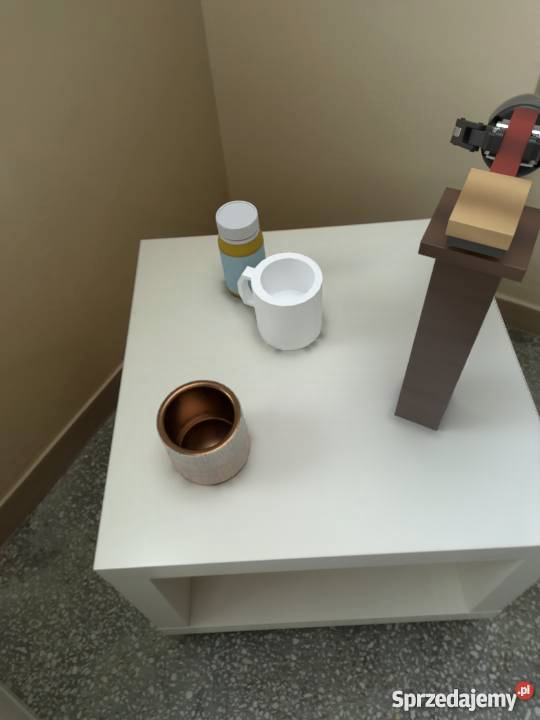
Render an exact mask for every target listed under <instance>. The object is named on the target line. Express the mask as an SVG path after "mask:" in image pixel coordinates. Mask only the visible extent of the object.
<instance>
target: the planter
mask: <svg viewBox="0 0 540 720" xmlns="http://www.w3.org/2000/svg"><path fill="white" fill-rule="evenodd" d="M155 428H156V431H157V435H158V437H159V439H160V441H161V443H162V445H163V446H164V448H165V450H166V452H167V454H168V456H169V458H170V460H171V462H172V464H173V466H174V468H175V469H176V470H177V472H178V473H179V474H180V475H181V476H182V477H183V478H185V479H186V480H188V481H190V482H192V483H195V484H199V485H205V486H206V485H207V486H208V485H209V486H210V485H216V484H220V483H223V482H225V481H228V480H229V479H231V478H233V477H234V476H235V475H236V474H238V473H239V472H240V471H241V470H242V468H243V467H244V465H245V464H246V462H247V460H248V458H249V454H250V448H251V437H250V434H249V430H248V426H247V423H246V420H245V416H244V412H243V408H242V404H241V401H240V400H239V397H238V396H237V394H236V393H235V392H234V391H233V390H232V389H231V388H230V387H229V386H227V385H226V384H224V383H221V382H219V381H217V380H212V379H197V380H191V381H188V382H185V383H182V384H181V385H178V386H177V387H176V388H174V389H173V390H172V391H170V392H169V393H168V394H167V395H166V396H165V398H164V399H163V400H162V402H161V404H160V405H159V408H158V411H157V413H156V418H155Z"/></svg>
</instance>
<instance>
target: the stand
mask: <svg viewBox="0 0 540 720" xmlns="http://www.w3.org/2000/svg"><path fill="white" fill-rule="evenodd" d="M461 191H462V189H457V188H453V187H448V186H446V187H445V188H444V191H443V193H442V195H441V197H440V199H439V201H438V203H437V206H436V208H435V210H434V212H433V214H432V217H431V218H430V220H429V223H428V225H427V227H426V229H425V230H424V233H423V235H422V238H421V240H420V242H419V246H418V251H417V254H418V255H421V256H425V257H428V258H431V259H434V263H433V266H432V270H431V274H430V278H429V281H428V285H427V290H426V293H425V296H424V301H423V304H422V308H421V312H420V316H419V320H418V323H417V327H416V330H415V334H414V338H413V343H412V346H411V350H410V354H409V358H408V361H407V365H406V369H405V373H404V377H403V380H402V383H401V388H400V391H399V395H398V400H397V403H396V406H395V411H394V416H396V417H398V418H402V419H404V420H406V421H410V422H413V423H415V424H417V425H420V426H423V427H426V428H428V429H431V430H434V431H438V429H439V427H440V425H441V423H442V419H443V418H444V415H445V413H446V410H447V408H448V405H449V403H450V401H451V399H452V396H453V394H454V392H455V389H456V387H457V385H458V382H459V380H460V379H461V375H462V373H463V371H464V369H465V366H466V364H467V362H468V359H469V356H470V354H471V352H472V349H473V348H474V345H475V342H476V340H477V338H478V335H479V333H480V332H481V328H482V326H483V324H484V322H485V320H486V318H487V315H488V312H489V310H490V307H491V305H492V304H493V301H494V299H495V297H496V294H497V291H498V289H499V287H500V284H501V282H502V279H506V280H510V281H512V282H513V281H514V282H517V283H522V282H523V281H524V277H525V276H526V273H527V271H528V269H529V265H530V261H531V259H532V255H533V252H534V249H535V246H536V242H537V240H538V236H539V234H540V208H537V207H533V206H529V205H526V204H525V205H524V208H523V211H522V214H521V217H520V220H519V222H518V225H517V228H516V231H515V234H514V237H513V239H512V242H511V244H510V247H509V249H508V250H505V252H504V254H503V256H502V258H501V259H500V258H496V257H492V256H488V255H485V254H481V253H477V252H473V251H470V250H466V249H462V248H458V247H455V246H451V245H447V244H446V239H447V236H448V235H446V234H445V232H446V229H447V225H448V221H449V218H450V216H451V214H452V211H453V209H454V207H455V205H456V202H457V200H458V198H459V196H460V193H461Z"/></svg>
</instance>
